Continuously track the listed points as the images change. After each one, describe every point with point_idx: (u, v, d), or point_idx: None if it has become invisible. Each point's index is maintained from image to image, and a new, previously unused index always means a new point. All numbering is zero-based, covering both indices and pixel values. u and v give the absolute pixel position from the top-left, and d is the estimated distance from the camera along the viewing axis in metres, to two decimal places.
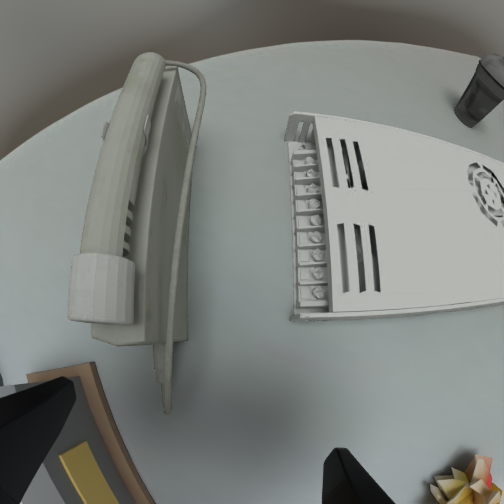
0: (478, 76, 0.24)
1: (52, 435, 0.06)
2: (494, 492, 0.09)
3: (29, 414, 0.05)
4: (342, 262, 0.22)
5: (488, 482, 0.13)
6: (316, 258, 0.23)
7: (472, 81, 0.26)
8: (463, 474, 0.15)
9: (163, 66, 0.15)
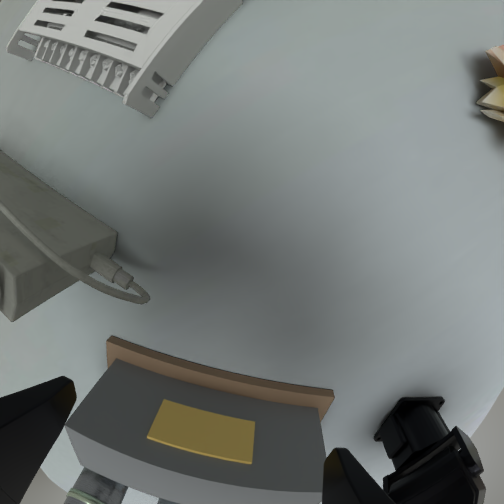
0: None
1: (52, 435, 0.06)
2: None
3: (29, 414, 0.05)
4: (122, 42, 0.13)
5: None
6: (108, 66, 0.15)
7: None
8: (499, 78, 0.12)
9: None
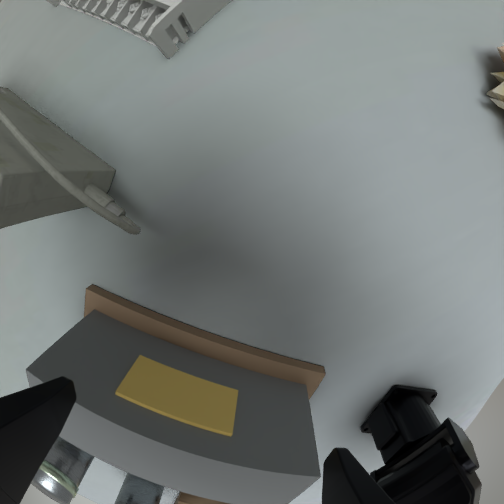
0: None
1: (52, 435, 0.06)
2: None
3: (29, 414, 0.05)
4: None
5: None
6: (135, 9, 0.13)
7: None
8: None
9: None
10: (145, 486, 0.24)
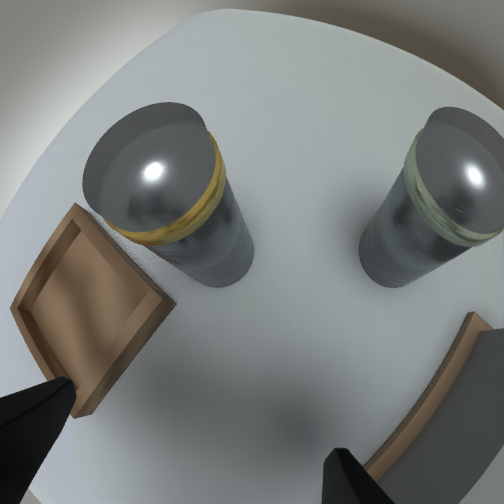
0: None
1: (52, 435, 0.06)
2: None
3: (29, 414, 0.05)
4: None
5: None
6: None
7: None
8: None
9: None
10: (234, 267, 0.18)
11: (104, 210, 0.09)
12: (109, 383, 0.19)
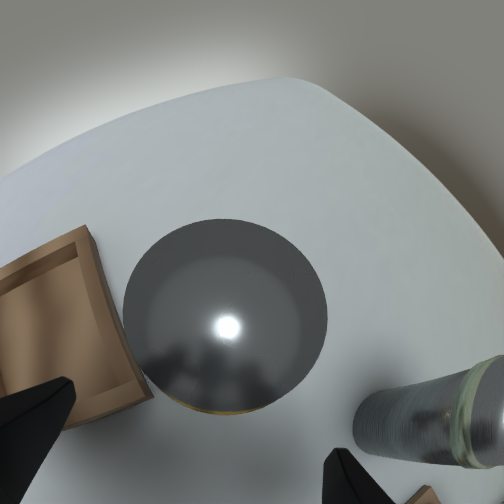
0: None
1: (52, 435, 0.06)
2: None
3: (29, 414, 0.05)
4: None
5: None
6: None
7: None
8: None
9: None
10: None
11: (152, 371, 0.06)
12: None
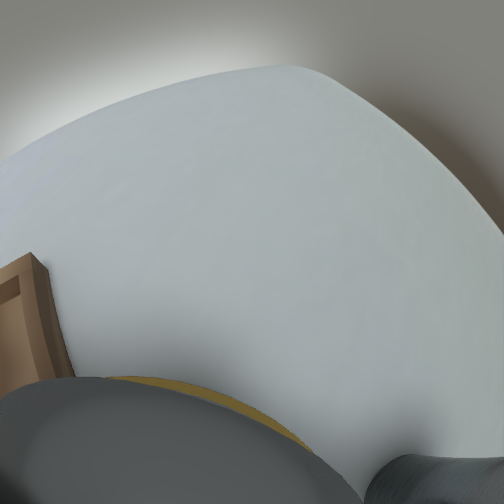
0: None
1: None
2: None
3: None
4: None
5: None
6: None
7: None
8: None
9: None
10: None
11: None
12: None
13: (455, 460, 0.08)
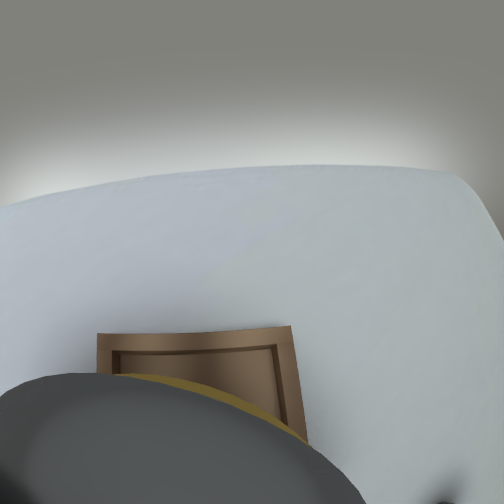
0: None
1: None
2: None
3: None
4: None
5: None
6: None
7: None
8: None
9: None
10: None
11: None
12: None
13: None
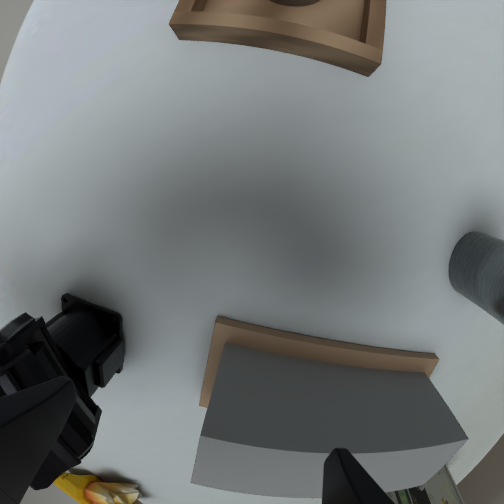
0: None
1: (52, 435, 0.06)
2: None
3: (29, 414, 0.05)
4: None
5: None
6: None
7: None
8: None
9: None
10: None
11: None
12: (241, 39, 0.15)
13: None
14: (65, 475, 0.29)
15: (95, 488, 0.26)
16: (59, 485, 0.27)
